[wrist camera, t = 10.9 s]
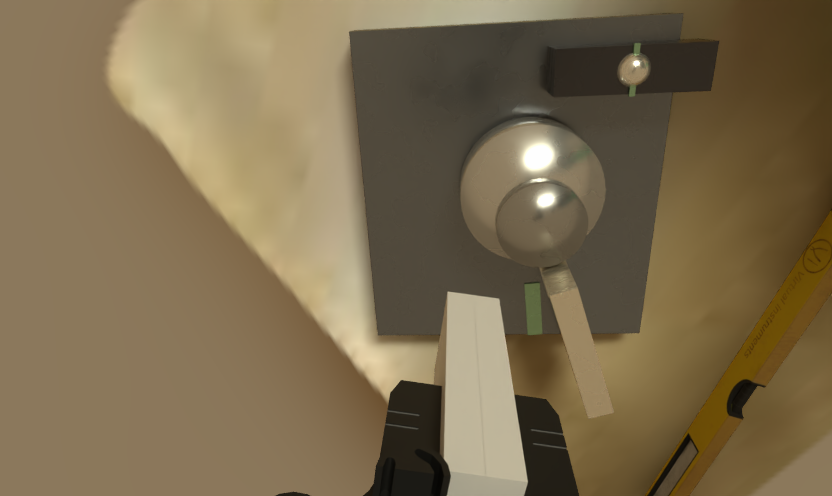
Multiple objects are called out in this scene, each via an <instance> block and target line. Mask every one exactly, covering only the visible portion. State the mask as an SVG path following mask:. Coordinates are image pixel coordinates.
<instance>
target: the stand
mask: <svg viewBox="0 0 832 496" xmlns="http://www.w3.org/2000/svg"><path fill="white" fill-rule="evenodd" d="M682 20H683V13H665V14H646V15H628V16H610V17H591V18H573V19H555V20H536V21H518V22H499V23H481V24H463V25H444V26H426V27H408V28H389V29H371V30H355V31H350V32H349V35H350V46H351V56H352V67H353V77H354V88H355V98H356V109H357V119H358V130H359V140H360V151H361V161H362V172H363V183H364V193H365V204H366V214H367V225H368V235H369V246H370V256H371V267H372V277H373V288H374V298H375V309H376V319H377V330H378V335H440V334H441V328H442V322H443V316H444V310H445V304H446V298H447V292H455V293H462V294H469V295H476V296H483V297H491V298H498V299H499V301H500V307H501V314H502V320H503V327H504V333H505V334H528V335H538V334H561V333H560V330H559V326H558V323H557V320H556V317H555V314H554V311H553V308H552V304H551V301H550V298H549V297H548V294H547V291H546V288H545V285H544V282H543V279H542V275H541V272H540V269H539V268H534V267H528V266H525V265H522V264H519V263H518V262H516V261H514V260H511V259H507V258H504V257H502V256H499V255H497V254H495V253H493V252H491V251H490V250H488V249H487V248H485V247H484V246H483V245H482V244H481V243H480V242H478V241H477V239H476V238H475V237H474V236H473V235H472V233H471V231H470V230H469V228H468V227H467V224H466V222H465V220H464V217H463V213H462V208H461V198H460V178H461V172H462V168H463V164H464V162H465V159H466V157H467V155H468V153H469V152H470V150H471V148H472V147H473V146H474V144H475V143H476V142H477V141H478V140H479V139H480V138H481V137H482V136H483V135H484V134H485V133H486V132H488V131H489V130H490V129H492V128H494V127H495V126H497V125H499V124H501V123H503V122H506V121H508V120H512V119H515V118H521V117H543V118H547V119H551V120H554V121H557V122H559V123H562V124H563V125H565V126H567V127H569V128H570V129H571V130H572V131H574V132H575V133H576V134H577V135H578V136H579V137H580V138H581V139H582V140H583V141H584V142H585V143H586V144H587V145H588V146H589V147H590V148H591V149H592V151H593V152H594V154H595V155H596V156H597V158H598V160H599V162H600V164H601V167H602V170H603V173H604V178H605V188H606V193H605V201H604V205H603V209H602V212H601V214H600V216H599V219H598V220H597V222H596V224H595V226H594V227H593V229H592V230H591V231H590V233H589V234H588V235H587V236H586V237H585V240H584V242H583V244H582V245H581V247H580V248H579V249H578V251H577V252H576V253H575V254H574V255H572V256H571V257H570V258H569V259H567V260H566V263H567V265H568V267H569V269H570V272H571V274H572V276H573V278H574V281H575V283H576V285H577V287H578V290H579V294H580V297H581V301H582V304H583V308H584V311H585V314H586V318H587V321H588V325H589V328H590V332H591V334H597V333H639V332H640V325H641V318H642V311H643V303H644V296H645V289H646V281H647V274H648V267H649V260H650V252H651V245H652V238H653V231H654V223H655V216H656V209H657V202H658V194H659V187H660V180H661V173H662V165H663V158H664V151H665V143H666V136H667V129H668V122H669V114H670V107H671V100H672V93H673V92H692V91H711V87H712V81H713V75H714V69H715V63H716V57H717V51H718V45H719V41H715V40H706V39H683V40H680V35H681V27H682Z"/></svg>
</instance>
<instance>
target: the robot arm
mask: <svg viewBox="0 0 832 496" xmlns="http://www.w3.org/2000/svg"><path fill="white" fill-rule="evenodd" d="M566 447H567V446H566V443H565V439H564V436H563V431H562V427H561V423H560V419H559V415H558V414H557V413H556V412H555V410H554V409H553V408H552V406H551V405H550V404H549V402H548V401H547V400H546V399H540V398H533V397H526V396H519V395H514V390H513V384H512V378H511V371H510V365H509V359H508V352H507V346H506V339H505V333H504V327H503V320H502V314H501V307H500V301H499V299H498V298H491V297H483V296H476V295H469V294H462V293H455V292H447V298H446V304H445V310H444V316H443V322H442V328H441V334H440V340H439V346H438V352H437V358H436V364H435V373H434V385H432V384H424V383H417V382H410V381H403V380H401V381H400V382H399V383H398V385H397V386H396V387H395V388H394V389H393V391H392V392H391V393H390V399H389V405H388V411H387V417H386V424H385V429H384V436H383V441H382V447H381V453H380V458H379V460H378V463H377V465H376V470H375V479H374V484H373V486H372V487H371V489H370V490H369V491H368V492H367V493H366V494H365V495H363V496H579V493H578V489H577V485H576V481H575V477H574V474H573V470H572V466H571V462H570V458H569V454H568V450H566ZM276 496H310V495H308V494H303V493H297V492H290V493H283V494H278V495H276Z"/></svg>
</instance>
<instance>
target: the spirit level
mask: <svg viewBox="0 0 832 496" xmlns="http://www.w3.org/2000/svg"><path fill="white" fill-rule="evenodd" d="M831 293H832V210H831V211H830V213H829V214H828V216H827V217H826V219H825V220H824V222H823V223H822V225H821V226H820V228H819V230H818V231H817V233H816V234H815V236H814V237H813V239H812V240H811V242H810V243H809V245H808V246H807V248H806V249H805V251H804V252H803V254H802V256H801V257H800V259H799V260H798V262H797V263H796V265H795V266H794V268H793V269H792V271H791V272H790V274H789V275H788V277H787V279H786V280H785V282H784V283H783V285H782V286H781V288H780V289H779V291H778V292H777V294H776V295H775V297H774V298H773V300H772V302H771V303H770V305H769V306H768V308H767V309H766V311H765V312H764V314H763V315H762V317H761V318H760V320H759V321H758V323H757V324H756V326H755V328H754V329H753V331H752V332H751V334H750V335H749V337H748V338H747V340H746V341H745V343H744V344H743V346H742V347H741V349H740V351H739V352H738V354H737V355H736V357H735V358H734V360H733V361H732V363H731V364H730V366H729V367H728V369H727V370H726V372H725V373H724V375H723V377H722V378H721V380H720V381H719V383H718V384H717V386H716V387H715V389H714V390H713V392H712V393H711V395H710V396H709V398H708V400H707V401H706V403H705V404H704V406H703V407H702V409H701V410H700V412H699V413H698V415H697V416H696V418H695V419H694V421H693V423H692V424H691V426H690V427H689V429H688V430H687V432H686V433H685V435H684V436H683V438H682V439H681V441H680V442H679V444H678V445H677V447H676V449H675V450H674V452H673V453H672V455H671V456H670V458H669V459H668V461H667V462H666V464H665V465H664V467H663V468H662V470H661V472H660V473H659V475H658V476H657V478H656V479H655V481H654V482H653V484H652V485H651V487H650V488H649V490H648V491H647V493H646V495H645V496H689V495H690V494H691V492H692V491H693V489H694V488H695V486H696V485H697V484H698V482H699V481H700V479H701V478H702V477H703V475H704V474H705V472H706V471H707V469H708V468H709V467H710V465H711V464H712V462H713V461H714V459H715V458H716V457H717V455H718V454H719V452H720V451H721V449H722V448H723V447H724V445H725V444H726V442H727V441H728V439H729V438H730V437H731V435H732V434H733V432H734V431H735V430H736V428H737V427H738V425H739V424H740V422H741V421H742V420H743V418H744V417H743V415H742V408H743V406H744V405H745V403H746V402H747V400H748V399H749V397H750V396H751V395H752V393H753V392H754V390H755V389H756V387H757V386H761V387H766V385H767V384H768V383H769V381H770V380H771V378H772V377H773V375H774V374H775V373H776V371H777V370H778V368H779V367H780V365H781V364H782V363H783V361H784V360H785V358H786V357H787V355H788V354H789V353H790V351H791V350H792V348H793V347H794V345H795V344H796V343H797V341H798V340H799V338H800V337H801V336H802V334H803V333H804V331H805V330H806V328H807V327H808V326H809V324H810V323H811V321H812V320H813V318H814V317H815V316H816V314H817V313H818V311H819V310H820V308H821V307H822V306H823V304H824V303H825V301H826V300H827V298H828V297H829V296H830V294H831Z"/></svg>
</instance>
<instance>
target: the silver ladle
mask: <svg viewBox="0 0 832 496" xmlns="http://www.w3.org/2000/svg"><path fill="white" fill-rule="evenodd" d="M605 193H606V188H605V178H604V173H603V170H602V167H601V164H600V162H599V160H598V158H597V156H596V155H595V154H594V152H593V151H592V149H591V148H590V147H589V146H588V145H587V144H586V143H585V142H584V141H583V140H582V139H581V138H580V137H579V136H578V135H577V134H576V133H575V132H574V131H572V130H571V129H570V128H569V127H567V126H565V125H563V124H562V123H559V122H557V121H554V120H551V119H547V118H543V117H521V118H515V119H512V120H508V121H506V122H503V123H501V124H499V125H497V126H495V127H494V128H492V129H490V130H489V131H488V132H486V133H485V134H484V135H483V136H482V137H481V138H480V139H479V140H478V141H477V142H476V143H475V144H474V146H473V147H472V148H471V150H470V152H469V153H468V155H467V157H466V159H465V162H464V164H463V168H462V172H461V178H460V198H461V208H462V213H463V217H464V220H465V222H466V224H467V227H468V228H469V230H470V231H471V233H472V235H473V236H474V237H475V238H476V239H477V241H478V242H480V243H481V244H482V245H483V246H484V247H485V248H487V249H488V250H490V251H491V252H493V253H495V254H497V255H499V256H502V257H504V258H507V259H511V260H514V261H516V262H518V263H519V264H522V265H525V266H528V267H534V268H539V269H540V272H541V275H542V279H543V282H544V285H545V288H546V291H547V294H548V297H549V298H550V301H551V304H552V308H553V311H554V314H555V317H556V320H557V323H558V326H559V330H560V333H561V336H562V339H563V342H564V345H565V349H566V352H567V355H568V358H569V361H570V364H571V367H572V370H573V373H574V376H575V379H576V382H577V385H578V388H579V391H580V394H581V397H582V401H583V404H584V407H585V410H586V413H587V416H588V419H590V418H594V417H598V416H603V415H607V414H611V413H614V410H613V407H612V404H611V400H610V397H609V393H608V390H607V386H606V383H605V380H604V376H603V373H602V369H601V366H600V362H599V359H598V356H597V352H596V349H595V345H594V342H593V338H592V335H591V332H590V328H589V325H588V321H587V318H586V314H585V311H584V308H583V304H582V301H581V297H580V294H579V290H578V287H577V285H576V283H575V281H574V278H573V276H572V274H571V272H570V269H569V267H568V265H567V263H566V260H567V259H569V258H570V257H571V256H572V255H574V254H575V253H576V252H577V251H578V249H579V248H580V247H581V245H582V244H583V242H584V240H585V237H586V236H587V235H588V234H589V233H590V231H591V230H592V229H593V227H594V226H595V224H596V222H597V220H598V219H599V216H600V214H601V212H602V209H603V205H604V201H605Z"/></svg>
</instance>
